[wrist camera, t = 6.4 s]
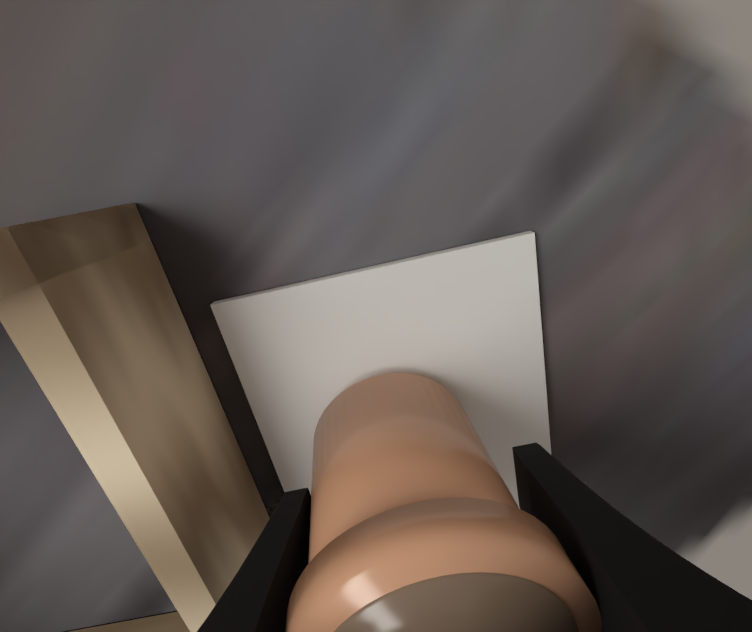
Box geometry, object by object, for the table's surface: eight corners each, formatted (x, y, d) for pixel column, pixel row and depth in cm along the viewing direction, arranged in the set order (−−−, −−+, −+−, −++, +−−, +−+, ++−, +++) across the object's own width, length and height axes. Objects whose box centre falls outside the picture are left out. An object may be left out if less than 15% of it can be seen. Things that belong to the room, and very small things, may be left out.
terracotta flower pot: (488, 485, 13) (606, 719, 8) (328, 528, 13) (331, 799, 8) (465, 341, 11) (604, 515, 6) (277, 389, 11) (229, 617, 6)
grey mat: (553, 522, 15) (557, 529, 15) (318, 567, 15) (317, 574, 15) (530, 230, 11) (534, 232, 11) (213, 301, 11) (210, 305, 11)
